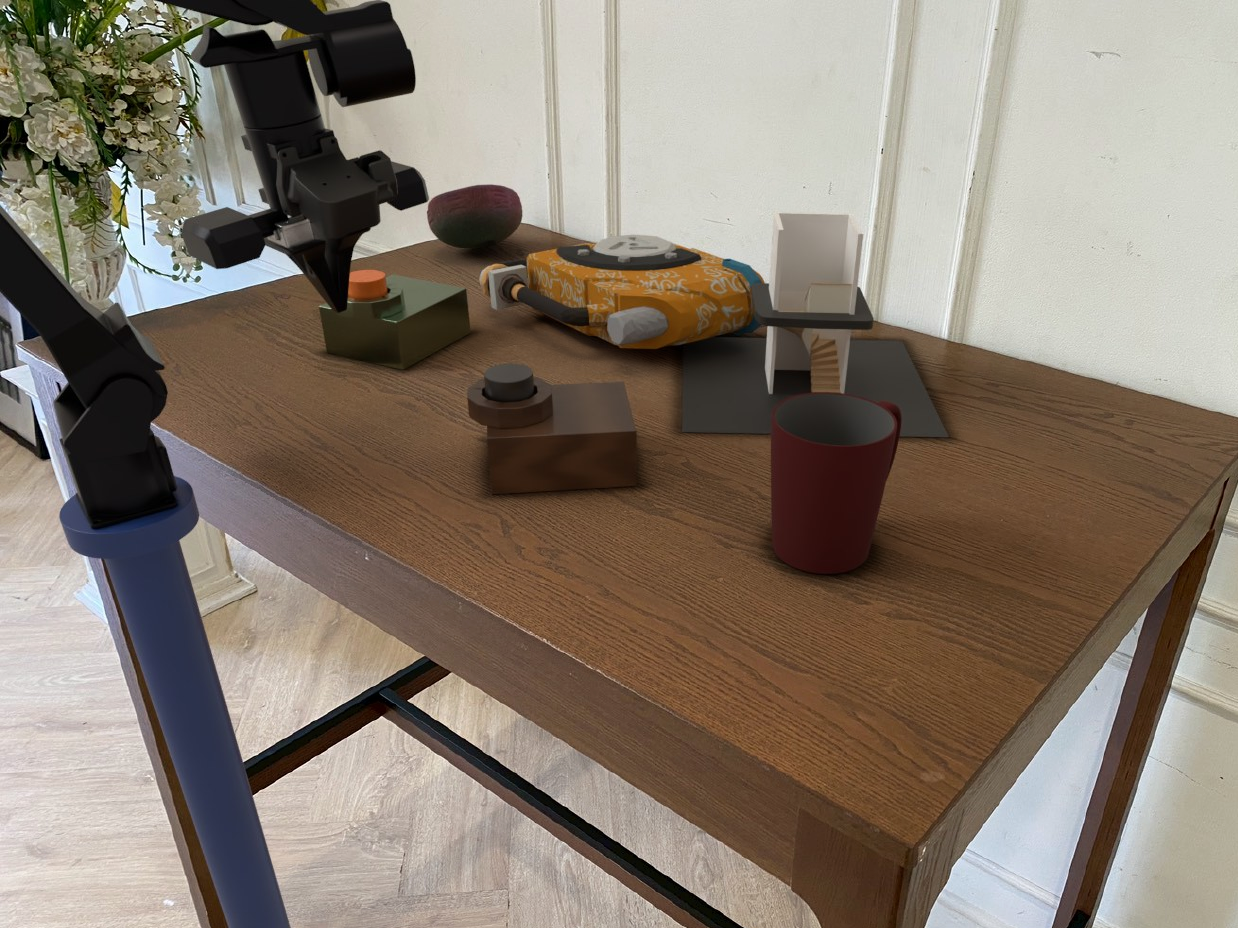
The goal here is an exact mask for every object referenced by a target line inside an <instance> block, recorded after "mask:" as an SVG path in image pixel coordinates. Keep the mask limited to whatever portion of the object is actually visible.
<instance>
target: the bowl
mask: <svg viewBox="0 0 1238 928" xmlns="http://www.w3.org/2000/svg"><path fill="white" fill-rule="evenodd" d="M426 216H427V217H426V218H427V223H428V226H429V229H430V231H431V232H432V234H433V235H434V236H435V238H437V240H439V242H442V243H443V244H445V245H448V246H451V247H454V248H457V249H480V248H487V247H492V246H495V245H497V244H500V243H502V242H503V241H505V240H507V239H508V238H509V237H510V236H512V235H513V234H514V233H515V232H516V231H517V230H518V228H519V227H520V225H521V223H522V220H523V205H522V202H521V198H520V196H519V194H518V193H517V192H516V191H515V190H514V189H513V188H510V187H507V186H504V185H501V184H491V183H490V184H475V185H469V186H465V187H461V188H457V189H453V190H450V191H446V192H443V193H440V194H438V195H435V196H434V197H432V198H431V199H430V200H429V201H428V202H427V211H426Z"/></svg>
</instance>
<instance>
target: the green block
mask: <svg viewBox="0 0 1238 928" xmlns="http://www.w3.org/2000/svg"><path fill="white" fill-rule="evenodd" d="M386 283H387V290H388V294H386V295H384V296H382V297H377V298H371V299H355V298H350V297H348V302H347V310H346V311H343V312H340V313H337V312H335V311H333V310H332V309H331V308H330V306H329V305H328V304H327V302H325V303H323V304H320V305H318V309H319V310H318V311H319V315H320V321H321V327H322V333H323V338H324V344H325V350H326V353H327V354H331V355H334V356H335V355H336V356H339V357H344V358H348V359H354V360H357V361H362V362H366V363H370V364H376V365H379V366H383V367H388V368H393V369H397V370H401V371H403V370H406V369H408V368H410V367H411V366H413V365H415V364H416V363H419V362H420V361H422V360H423V359H426V358H427V357H429V356H432V355H433V354H435V353H436V352H438V351H440V350H442V349H444V348H446V347H448V346H449V345H451V344H453V343H455V342H456V341H459V340H460V339H462V338H464V337H466V336H467V335H469V334H471V332H472V331H471V324H470V313H469V303H468V302H469V301H468V292H467V290H468V289H467V288H466V287H462V286H456V285H451V284H445V283H440V282H435V281H430V280H424V279H419V278H414V277H409V276H404V275H398V274H390V275H388V276H386Z"/></svg>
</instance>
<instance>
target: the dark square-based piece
mask: <svg viewBox="0 0 1238 928" xmlns="http://www.w3.org/2000/svg"><path fill="white" fill-rule="evenodd" d="M772 217H773V219H772V231H771V232H772V235H771V248H770V263H769V265H770V267H769V281H768V282H767V283H766V282H765V283H755V284H752V286H751V297H752V303H753V309H754V316H755V320H756V321H757V322H758V323H759V324H760V325H761V326H764V327H766V328H767V329H766V331H767V332H766V337H730V336H728V337H727V336H714V337H710V338H706V339H702V340H698V341H694V342H689V343H685V344H682V388H681V389H682V390H681V391H682V393H681V394H682V396H681V397H682V399H681V433H707V434H708V433H709V434H711V433H712V434H753V435H754V434H755V435H756V434H758V435H759V434H762V435H764V434H765V435H771V422H772V412H773V409H774V408H775V406H776V405H777V404H778V403H780V402H781V401H783V400H785V399H787V398H790V397H792V396H796V395H800V394H806V393H814V392H832V393H843V394H849V395H854V396H858V397H863V398H866V399H868V400H871V401H874V402H876V403H878V402H880V401H889V402H891V403H894V404H896V405H897V406H898V407H899V409H900V411H901V417H902V422H901V431H900V437H907V438H908V437H909V438H917V437H918V438H950V436H949V434H948V431H947V430H946V428H945V426H944V424H943V421H942V420H941V418H940V415H939V414H938V412H937V409H936V407H935V405H934V403H933V401H932V400H931V397H930V395H929V392H928V391H927V388H926V387H925V385H924V383H923V381H922V378H921V376H920V375H919V373H918V371H917V368H916V366H915V364H914V361H912V358H911V356H910V354H909V351H908V350H907V347H906V345H905V344H904V342H903V340H871V339H870V340H867V339H865V340H864V339H861V340H860V339H851V335H852V330H853V331H854V330H855V331H856V330H857V331H868V330H873V328H874V320H875V318H874V316H873V314H872V312H871V308H870V306H869V305H868V303H867V300H866V298H865V296H864V293H863V291H862V289H861V287H860V286H858V285H859V277H860V268H861V258H862V250H863V239H864V232H863V231H862V228H861V227H860V224H859V223H858V221H857V219H856V217H855V215H854V214H853V213H838V212H837V213H835V212H834V213H833V212H797V211H795V212H794V211H792V212H790V211H788V212H787V211H773V216H772Z"/></svg>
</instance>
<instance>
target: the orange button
mask: <svg viewBox="0 0 1238 928" xmlns="http://www.w3.org/2000/svg"><path fill="white" fill-rule="evenodd" d="M386 277H387V276H386V273H385V272H384V271H381V270H377V269H361V270H354V271H352V272H351V271H350V277H349V290H348V297H350V298H355V299H371V298H377V297H382V296H384V295H386V294H388V290H387V283H386Z"/></svg>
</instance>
